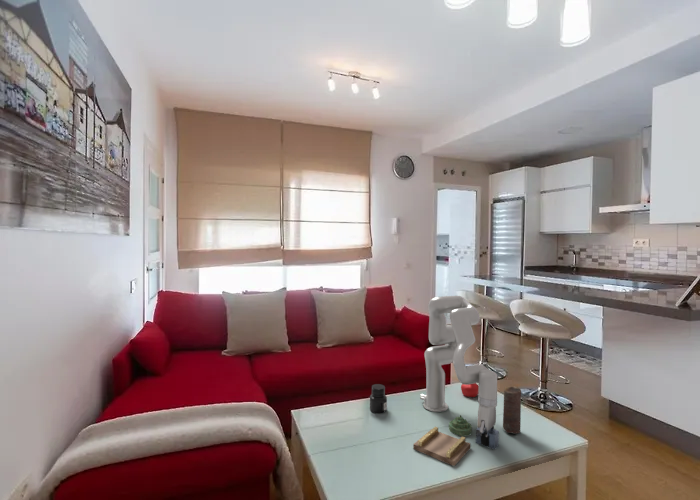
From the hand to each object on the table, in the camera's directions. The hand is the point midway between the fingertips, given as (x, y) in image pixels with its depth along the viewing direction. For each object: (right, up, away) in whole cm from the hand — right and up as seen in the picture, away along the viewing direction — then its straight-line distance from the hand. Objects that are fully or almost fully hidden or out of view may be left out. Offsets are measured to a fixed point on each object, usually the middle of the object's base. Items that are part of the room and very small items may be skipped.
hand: (487, 441), depth 156 cm
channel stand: (-20, -1, -4) cm, 21 cm away
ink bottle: (-44, 0, +31) cm, 54 cm away
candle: (+15, -1, +10) cm, 18 cm away
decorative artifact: (-8, -1, +11) cm, 14 cm away
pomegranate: (+9, 0, +49) cm, 50 cm away
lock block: (0, -1, 0) cm, 1 cm away
